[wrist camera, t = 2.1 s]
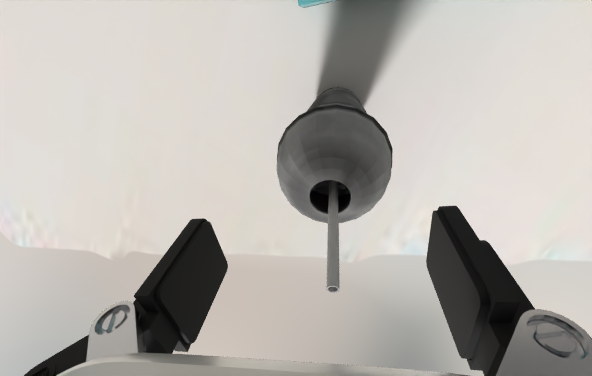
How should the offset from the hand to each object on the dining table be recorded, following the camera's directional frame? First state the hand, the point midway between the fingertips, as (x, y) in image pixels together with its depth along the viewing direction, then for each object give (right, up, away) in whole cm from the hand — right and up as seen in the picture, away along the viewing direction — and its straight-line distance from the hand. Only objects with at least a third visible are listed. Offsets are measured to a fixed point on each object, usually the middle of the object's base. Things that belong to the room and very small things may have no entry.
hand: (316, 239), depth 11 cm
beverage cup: (+3, +10, +15) cm, 19 cm away
